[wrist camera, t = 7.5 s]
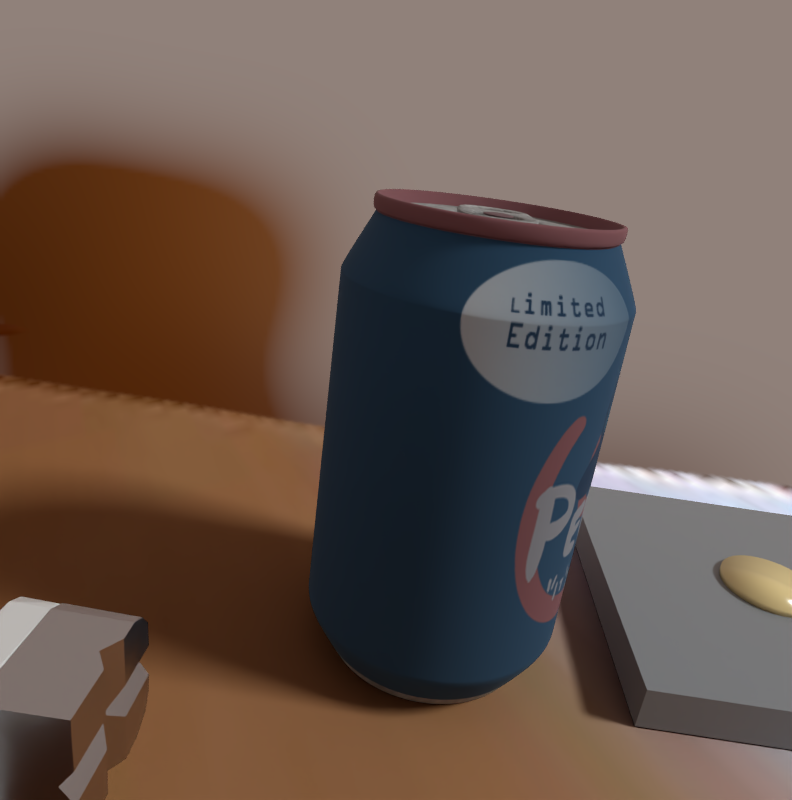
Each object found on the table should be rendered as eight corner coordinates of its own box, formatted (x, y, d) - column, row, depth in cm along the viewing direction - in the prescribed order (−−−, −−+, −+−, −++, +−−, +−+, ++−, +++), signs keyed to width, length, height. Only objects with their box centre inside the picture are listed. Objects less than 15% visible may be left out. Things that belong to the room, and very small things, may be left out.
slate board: (634, 726, 17) (649, 683, 17) (563, 509, 28) (571, 479, 27) (1066, 791, 17) (1094, 751, 17) (833, 548, 27) (846, 519, 27)
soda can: (562, 745, 16) (707, 250, 12) (281, 704, 17) (325, 197, 12) (527, 575, 23) (614, 213, 19) (325, 546, 23) (364, 178, 19)
